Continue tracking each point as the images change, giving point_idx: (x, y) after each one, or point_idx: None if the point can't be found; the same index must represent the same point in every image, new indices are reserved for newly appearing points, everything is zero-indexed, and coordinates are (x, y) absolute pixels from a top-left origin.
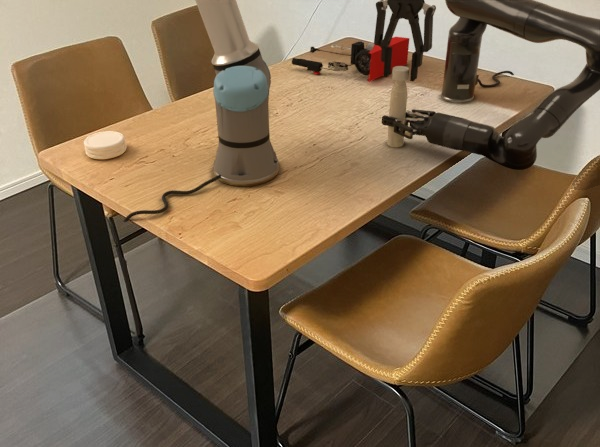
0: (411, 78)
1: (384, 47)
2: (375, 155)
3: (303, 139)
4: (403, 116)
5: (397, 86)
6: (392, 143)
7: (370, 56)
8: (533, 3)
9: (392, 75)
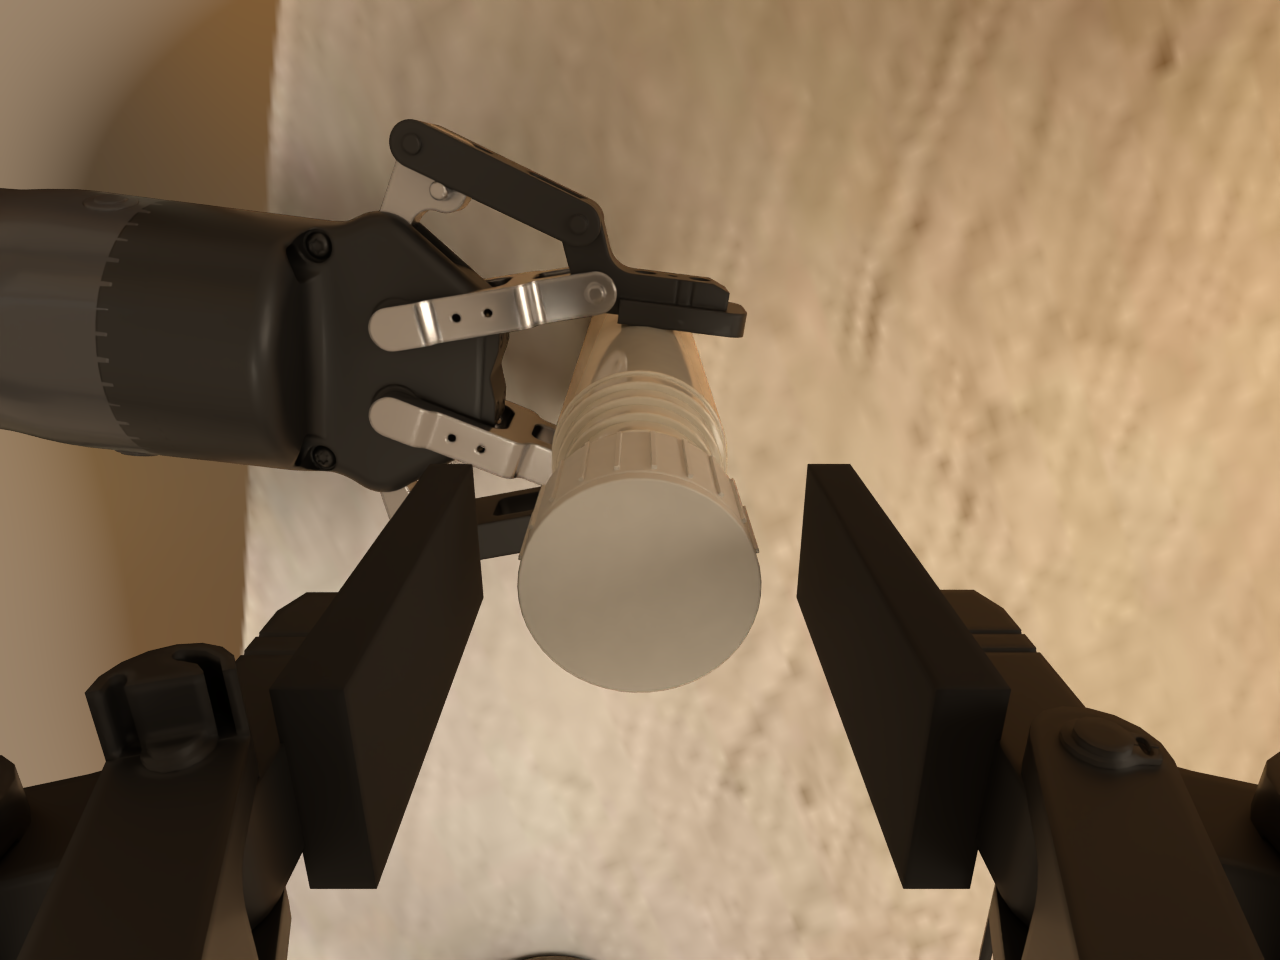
0: (447, 479)
1: (1056, 735)
2: (693, 104)
3: (1267, 110)
4: (574, 370)
5: (638, 426)
6: None
7: None
8: None
9: (731, 489)
